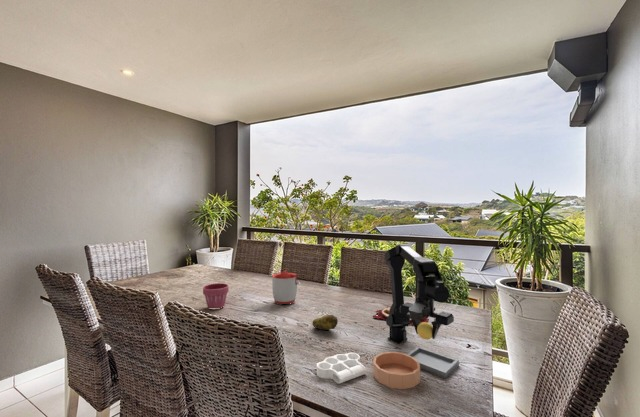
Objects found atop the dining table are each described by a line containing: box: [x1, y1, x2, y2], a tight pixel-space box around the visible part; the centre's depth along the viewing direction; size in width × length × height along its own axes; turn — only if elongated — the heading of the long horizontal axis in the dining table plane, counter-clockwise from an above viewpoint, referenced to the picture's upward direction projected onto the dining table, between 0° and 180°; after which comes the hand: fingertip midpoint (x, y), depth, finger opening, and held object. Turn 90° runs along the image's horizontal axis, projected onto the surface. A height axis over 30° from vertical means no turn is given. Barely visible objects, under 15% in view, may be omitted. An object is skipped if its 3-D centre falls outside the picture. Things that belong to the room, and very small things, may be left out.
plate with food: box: [372, 306, 430, 326], centre depth 167 cm, size 25×26×4 cm
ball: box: [416, 321, 433, 341], centre depth 114 cm, size 6×6×6 cm
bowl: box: [372, 351, 421, 390], centre depth 107 cm, size 16×16×4 cm
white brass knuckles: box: [316, 352, 368, 384], centre depth 111 cm, size 3×18×15 cm
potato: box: [312, 314, 339, 331], centre depth 147 cm, size 8×13×8 cm, turn 36°
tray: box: [406, 346, 460, 379], centre depth 115 cm, size 16×12×2 cm
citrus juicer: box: [271, 269, 301, 305], centre depth 190 cm, size 16×17×20 cm
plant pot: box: [202, 282, 230, 309], centre depth 181 cm, size 14×14×13 cm
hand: (425, 336), depth 114 cm, fingers closed on ball, 6 cm apart
